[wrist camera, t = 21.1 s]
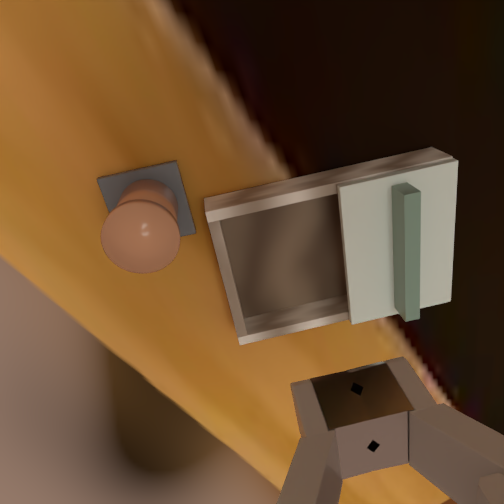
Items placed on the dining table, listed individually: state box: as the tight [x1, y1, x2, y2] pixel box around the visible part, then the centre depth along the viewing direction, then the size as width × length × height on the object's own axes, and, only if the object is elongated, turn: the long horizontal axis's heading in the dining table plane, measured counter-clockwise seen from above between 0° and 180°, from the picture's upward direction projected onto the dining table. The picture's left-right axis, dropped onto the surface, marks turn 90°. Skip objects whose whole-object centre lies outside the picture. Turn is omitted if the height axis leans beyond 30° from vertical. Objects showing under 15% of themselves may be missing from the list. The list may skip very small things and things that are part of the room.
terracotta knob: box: [101, 179, 180, 273], centre depth 34 cm, size 6×6×7 cm
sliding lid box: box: [204, 147, 453, 345], centre depth 41 cm, size 22×15×4 cm
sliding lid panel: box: [337, 159, 458, 325], centre depth 38 cm, size 10×15×3 cm
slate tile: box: [97, 160, 196, 237], centre depth 38 cm, size 7×7×1 cm
